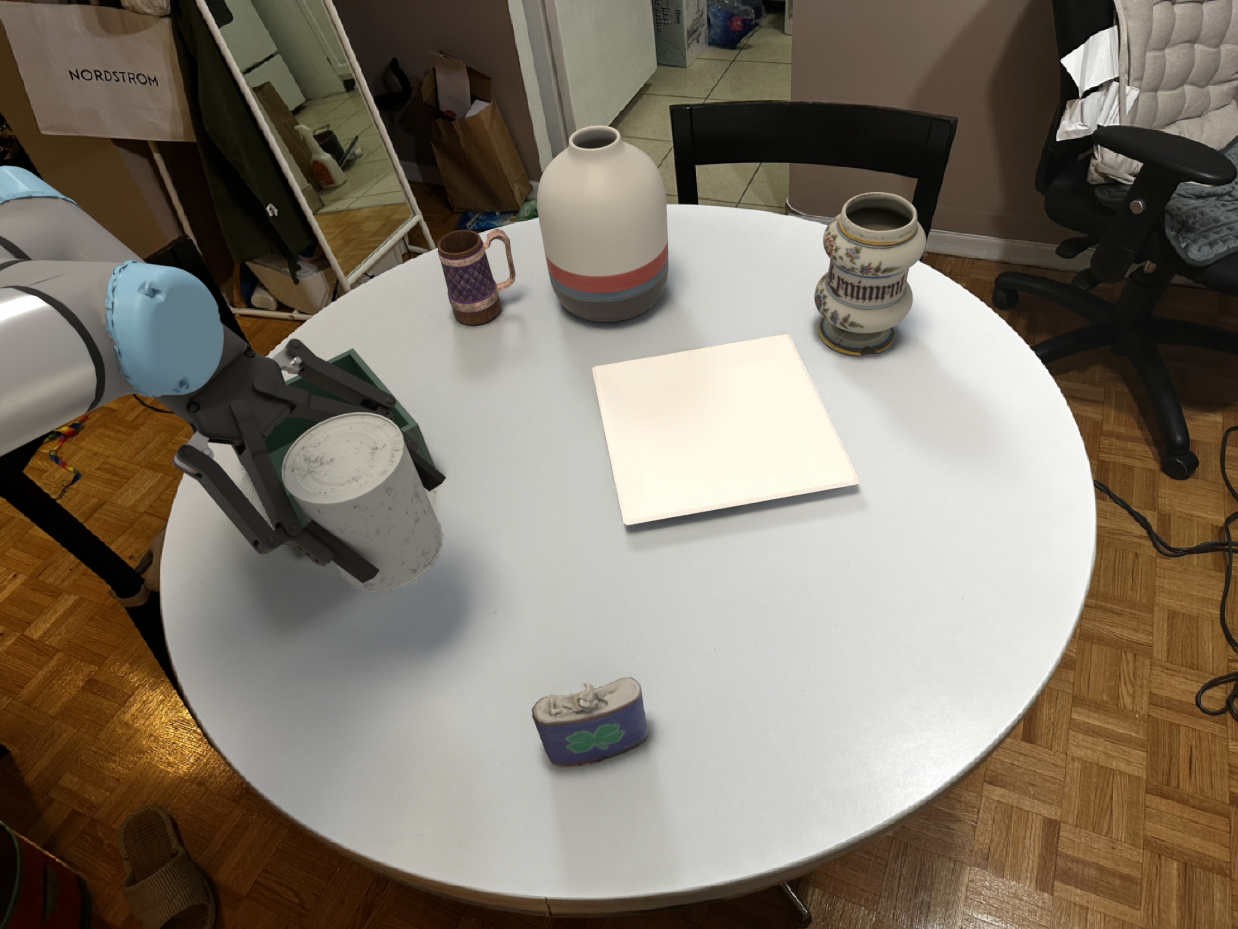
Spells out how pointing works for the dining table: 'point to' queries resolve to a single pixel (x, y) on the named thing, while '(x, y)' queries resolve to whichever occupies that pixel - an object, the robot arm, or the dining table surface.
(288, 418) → the bin
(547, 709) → the flask
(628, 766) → the dining table surface
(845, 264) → the apothecary jar
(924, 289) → the dining table surface
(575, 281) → the vase
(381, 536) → the white speckled cylinder
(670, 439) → the white flat square slab
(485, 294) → the mug
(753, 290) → the dining table surface
